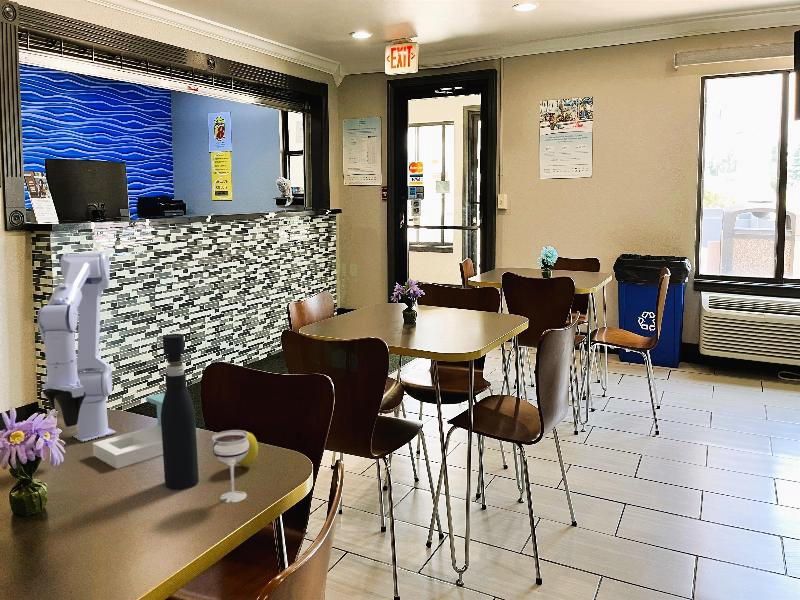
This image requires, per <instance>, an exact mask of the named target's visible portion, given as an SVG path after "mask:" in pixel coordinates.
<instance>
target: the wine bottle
mask: <svg viewBox="0 0 800 600" xmlns="http://www.w3.org/2000/svg"><path fill="white" fill-rule="evenodd" d="M162 345H163V346H162V347H163V348H162V349H163V354H165V355H167V365H166V369H165V370H166V374H165V393H164V394H165V395H164V399H163V402H162V409H161V429H162V445H163V455H162V456H163V457H162V459H163V471H164V473H163V474H164V475H163V476H164V486H165V487H166V488H167V489H168V490H173V491H180V490H181V491H182V490H187V489H190V488H192V487H195V486H197V484H199V481H200V477H199V461H198V459H199V457H198V443H197V441H198V440H197V423H196V410H195V406H194V402H193V399H192V397H191V394H190V391H189V389H188V387H187V374H186V373H185V369H184V368H185V366H184V364H183V363H182V361H183V359H182V354H183V353H184V352H186V351H185V350H186V349H185V336H184V334H182V333H169V334H166V335H162Z"/></svg>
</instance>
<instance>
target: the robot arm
mask: <svg viewBox="0 0 800 600" xmlns="http://www.w3.org/2000/svg"><path fill="white" fill-rule="evenodd" d="M59 264H60V271H61V272H60V273H61V275H62V277H63V281H62V283H60V284H58V285H57V286H56V287H55V288H54V290H53V291H52V294H51V295H50V298H49V301H48V303H47V305H43V306H42V307H40V308H39V310H38V311H37V322H36V323H37V328H38V331H39V333H40V340H41V341H42V342H43V343H44V355H45V363H46V366H45V367H46V376H44V383H43V384H42V385H41V388H42V389H44V390H43V391H42V394H43V395H44V396H45V397H46V399H47V401H48V402H49V405H50V407H51V410H52V411H53V409H55V404H54V399H56V400H57V402H58V404H59V405H60V408H61V411H62V414H63V419H64V423H65V425H66V427H70V426H74V425H77V424H78V434H77V435H74V436H73V437H72V438H74V437H75V439H76V438H77V439H76V440H78V441H79V442H82V443H83V442H84V441H85V442H88V440H89V441H92V440H96V439H99V438H103V437H107V436H111V435H114V434H116V430H113V429H112V428H109V422H108V420H109V419H108V410H107V407H108V406H107V397H109V396H110V395H111V394H112V390H113V376H112V368H111V365H110V364H109V363H108V362H106V361H104V360H103V359H101V358H100V337H101V335H100V330H101V300H102V294H103V291H106V290H107V289H108V288H109V286H110V285H109V284H110V280H111V279H110V273H111V272H110V271H111V266H110V260H109V256H108V255H107V253H105V252H88V253H87V252H84V253H83V252H82V253H80V252H79V253H68V252H64V253H63V254H62V255H61V257H60V263H59ZM77 326H78V329H77ZM76 329H77V331H78V332H77V347H76V341H75V340H76V339H75V331H76ZM76 348H77V350H76ZM76 351H77V352H76ZM106 435H107V436H106ZM98 437H99V438H98ZM95 438H96V439H95ZM91 439H92V440H91ZM85 442H84V443H85Z"/></svg>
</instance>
